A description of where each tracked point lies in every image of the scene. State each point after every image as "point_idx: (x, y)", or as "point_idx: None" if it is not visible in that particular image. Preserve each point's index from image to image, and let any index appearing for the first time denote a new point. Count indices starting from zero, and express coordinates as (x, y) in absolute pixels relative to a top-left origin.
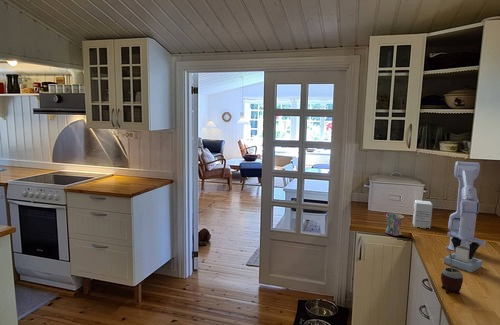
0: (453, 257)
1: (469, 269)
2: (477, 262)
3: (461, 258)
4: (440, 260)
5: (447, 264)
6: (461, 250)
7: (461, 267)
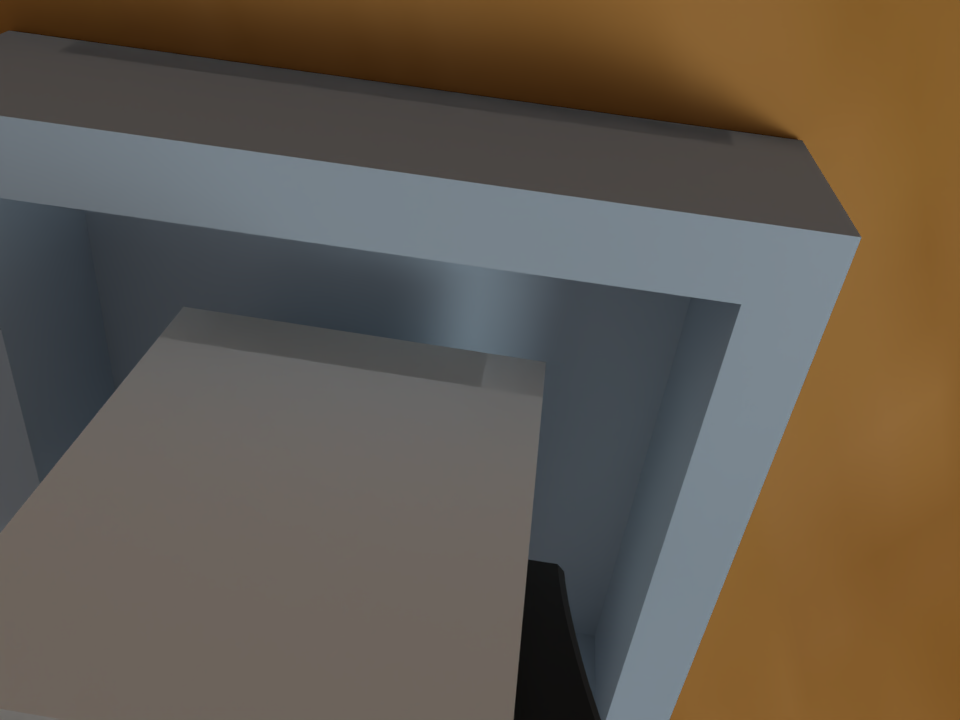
0: (633, 560)
1: (8, 60)
2: (4, 518)
3: (308, 408)
4: (920, 309)
5: (690, 130)
6: (236, 666)
7: (256, 85)
